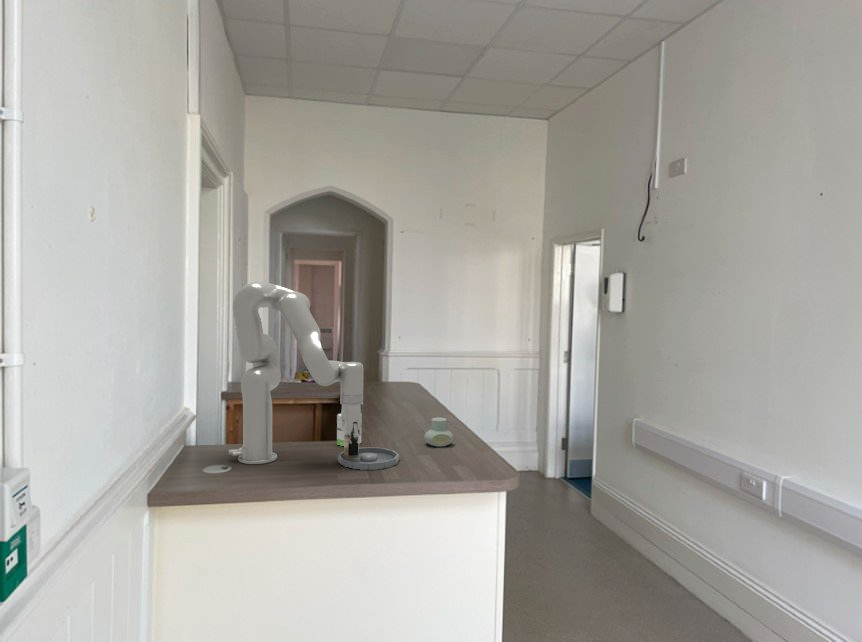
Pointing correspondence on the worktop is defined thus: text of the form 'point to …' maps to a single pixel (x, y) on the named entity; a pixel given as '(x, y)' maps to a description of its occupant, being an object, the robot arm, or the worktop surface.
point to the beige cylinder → (346, 442)
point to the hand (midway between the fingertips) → (351, 452)
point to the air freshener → (438, 433)
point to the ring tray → (370, 459)
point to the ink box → (341, 434)
